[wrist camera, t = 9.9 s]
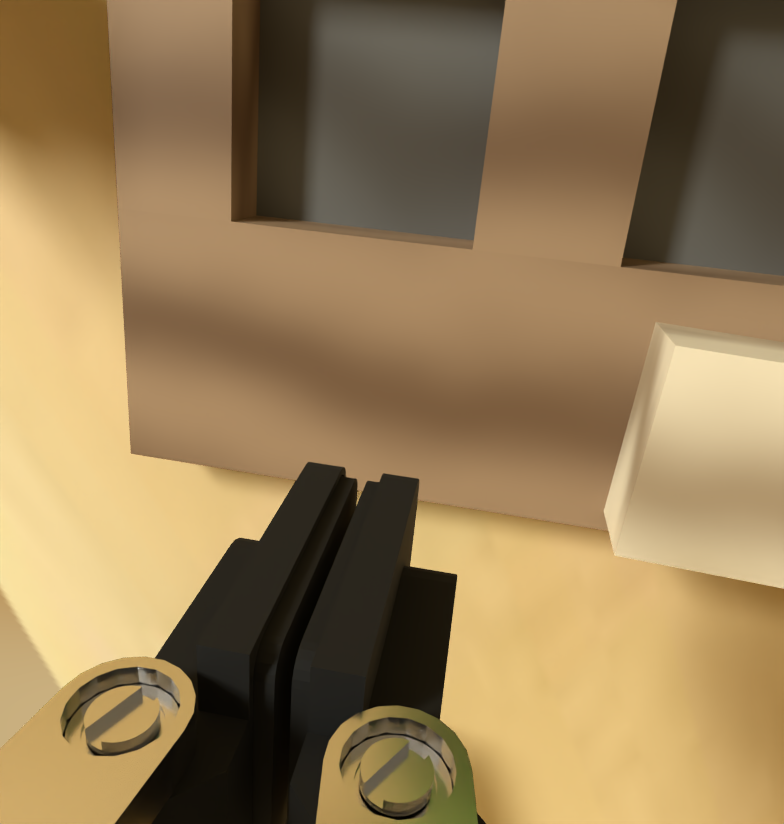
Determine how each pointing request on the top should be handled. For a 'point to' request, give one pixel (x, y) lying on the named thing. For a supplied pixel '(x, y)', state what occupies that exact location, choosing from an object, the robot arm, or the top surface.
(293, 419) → the box
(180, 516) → the top surface
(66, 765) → the robot arm
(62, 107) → the top surface
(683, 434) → the birch block
